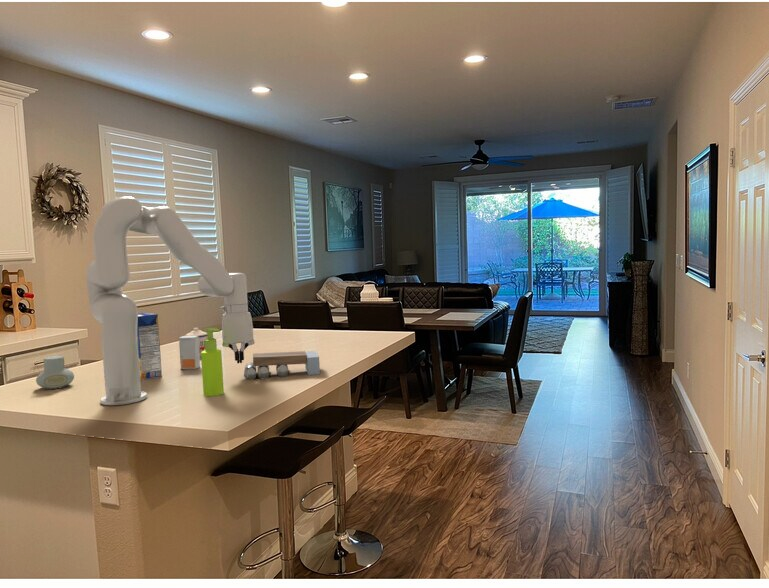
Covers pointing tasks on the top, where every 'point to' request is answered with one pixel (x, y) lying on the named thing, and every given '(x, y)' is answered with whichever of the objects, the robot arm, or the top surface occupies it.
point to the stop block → (312, 363)
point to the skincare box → (189, 352)
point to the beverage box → (148, 346)
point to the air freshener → (54, 374)
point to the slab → (279, 358)
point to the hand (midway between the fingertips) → (239, 362)
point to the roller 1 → (250, 371)
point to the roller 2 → (282, 370)
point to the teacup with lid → (201, 336)
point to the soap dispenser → (212, 366)
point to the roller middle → (263, 371)
